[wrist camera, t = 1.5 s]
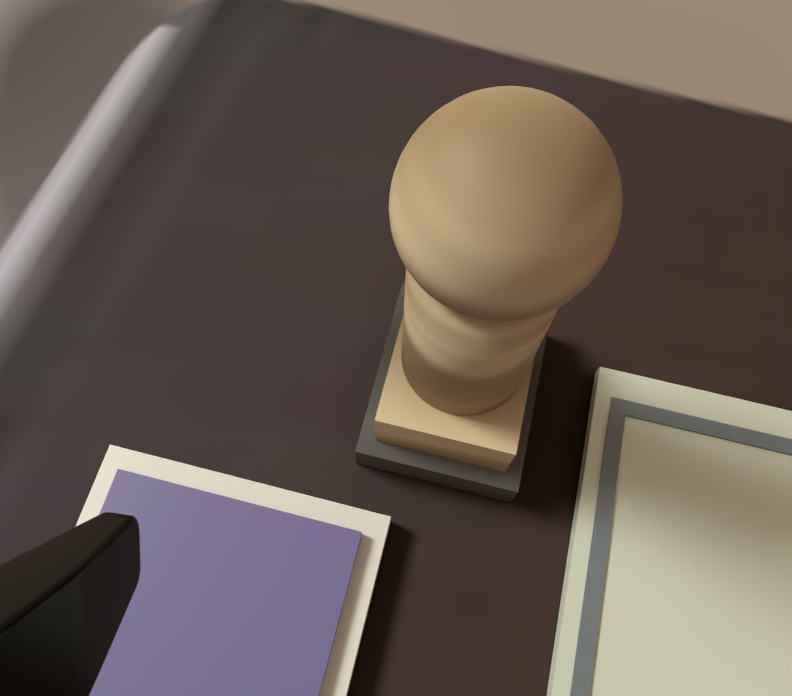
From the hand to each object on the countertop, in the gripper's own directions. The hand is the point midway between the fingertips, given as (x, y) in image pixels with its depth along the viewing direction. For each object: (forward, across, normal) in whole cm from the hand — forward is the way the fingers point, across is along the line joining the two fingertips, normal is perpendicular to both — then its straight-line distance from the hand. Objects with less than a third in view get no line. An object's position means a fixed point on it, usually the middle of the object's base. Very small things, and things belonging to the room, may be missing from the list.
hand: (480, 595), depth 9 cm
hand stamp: (+14, 0, +4) cm, 15 cm away
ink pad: (+8, +6, +10) cm, 15 cm away
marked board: (+11, -10, +8) cm, 16 cm away
